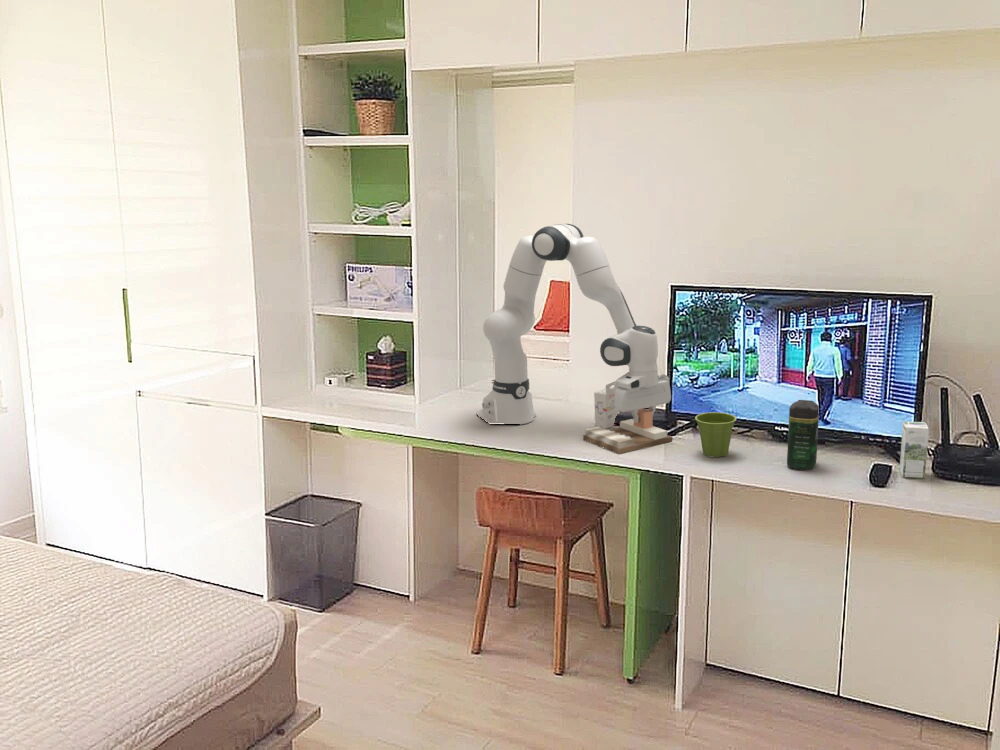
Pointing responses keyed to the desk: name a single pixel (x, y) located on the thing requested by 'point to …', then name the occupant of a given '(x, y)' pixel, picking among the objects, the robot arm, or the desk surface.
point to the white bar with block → (644, 425)
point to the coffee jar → (803, 434)
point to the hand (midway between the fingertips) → (643, 420)
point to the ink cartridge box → (605, 406)
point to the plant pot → (715, 432)
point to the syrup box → (913, 449)
